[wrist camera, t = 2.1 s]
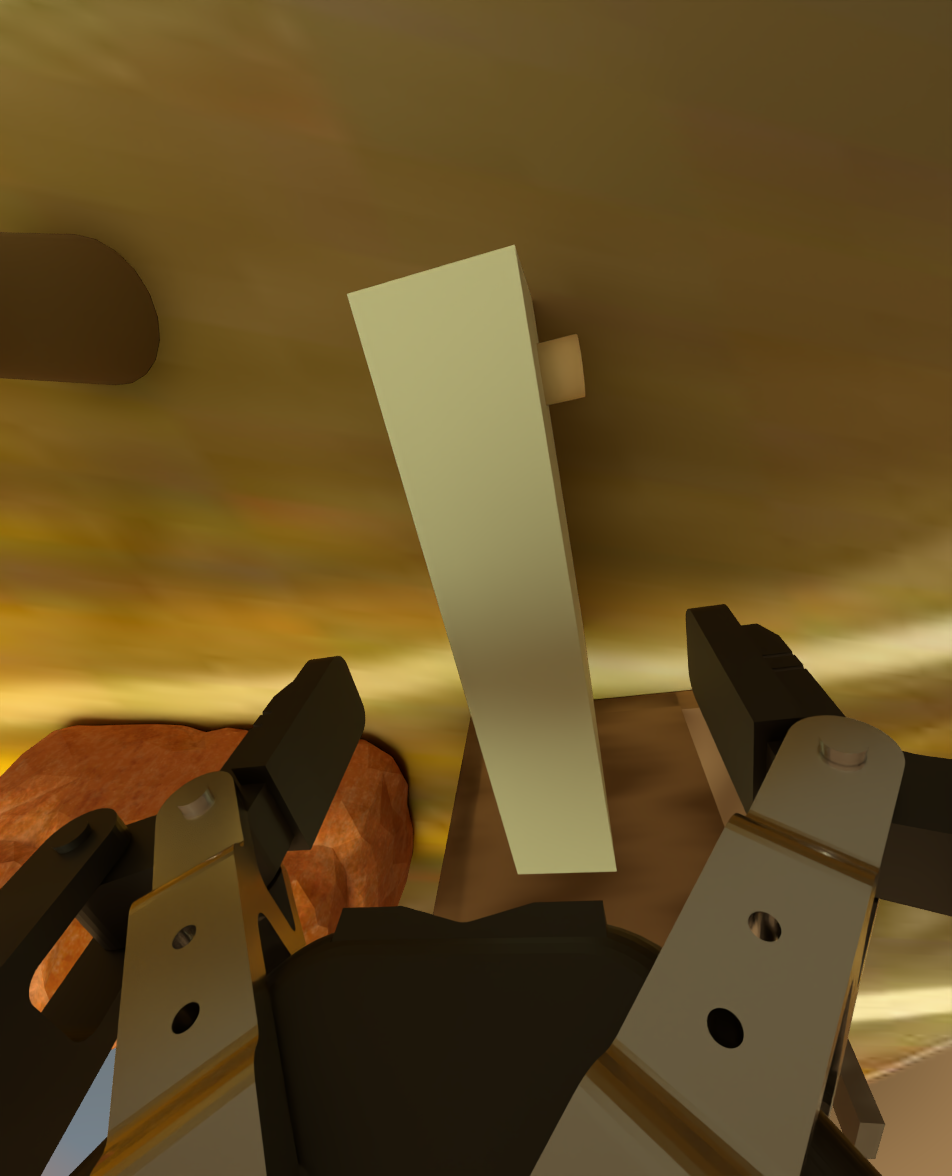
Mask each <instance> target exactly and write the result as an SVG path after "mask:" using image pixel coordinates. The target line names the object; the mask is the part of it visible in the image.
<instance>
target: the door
mask: <svg viewBox="0 0 952 1176" xmlns="http://www.w3.org/2000/svg"><path fill="white" fill-rule="evenodd" d="M347 296H348V299H349V302H350V306H351V309H352V313H353V316H354V319H355V323H356V326H357V330H358V333H359V336H360V340H361V343H362V347H363V350H364V353H365V357H366V360H367V364H368V367H369V370H370V374H371V377H372V381H373V384H374V387H375V391H376V394H377V397H378V401H379V404H380V408H381V411H382V414H383V418H384V421H385V425H386V428H387V431H388V435H389V438H390V442H391V445H392V448H393V452H394V455H395V459H396V462H397V465H398V469H399V472H400V476H401V479H402V482H403V486H404V489H405V493H406V496H407V499H408V503H409V506H410V510H411V513H412V516H413V520H414V523H415V527H416V530H417V533H418V537H419V540H420V544H421V547H422V550H423V554H424V557H425V561H426V564H427V567H428V571H429V574H430V578H431V581H432V584H433V588H434V591H435V595H436V598H437V601H438V605H439V608H440V612H441V615H442V618H443V622H444V625H445V629H446V632H447V635H448V639H449V642H450V645H451V649H452V652H453V656H454V659H455V662H456V666H457V669H458V673H459V676H460V679H461V683H462V686H463V690H464V693H465V696H466V700H467V703H468V707H469V710H470V713H471V717H472V720H473V724H474V727H475V730H476V734H477V737H478V741H479V744H480V747H481V751H482V754H483V758H484V761H485V764H486V768H487V771H488V775H489V778H490V781H491V785H492V788H493V792H494V795H495V798H496V802H497V805H498V809H499V812H500V815H501V819H502V822H503V826H504V829H505V832H506V836H507V839H508V843H509V846H510V849H511V853H512V856H513V860H514V863H515V866H516V870H517V873H518V874H545V873H580V872H614V871H617V869H616V862H615V855H614V847H613V840H612V833H611V825H610V818H609V811H608V804H607V796H606V789H605V782H604V774H603V767H602V760H601V752H600V745H599V738H598V730H597V723H596V716H595V708H594V701H593V694H592V687H591V679H590V672H589V665H588V657H587V650H586V643H585V635H584V628H583V622H582V615H581V609H580V602H579V596H578V590H577V583H576V577H575V571H574V564H573V558H572V551H571V545H570V539H569V532H568V526H567V519H566V513H565V507H564V500H563V494H562V488H561V481H560V475H559V468H558V462H557V456H556V449H555V443H554V436H553V430H552V424H551V417H550V411H549V405H551V404H556V403H560V402H565V401H569V400H574V399H578V398H583V397H585V383H584V373H583V365H582V358H581V351H580V345H579V340H578V335H577V334H573V335H569V336H565V337H561V338H557V339H553V340H549V341H545V342H541V343H539V341H538V334H537V328H536V322H535V315H534V309H533V302H532V297H531V294H530V291H529V288H528V285H527V282H526V279H525V276H524V272H523V269H522V266H521V263H520V260H519V257H518V254H517V251H516V248H515V245H512V246H508V247H505V248H502V249H498V250H495V251H491V252H488V253H485V254H481V255H478V256H474V257H471V258H468V259H464V260H461V261H458V262H454V263H451V264H447V265H444V266H441V267H437V268H434V269H430V270H427V271H424V272H420V273H417V274H413V275H410V276H407V277H403V278H400V279H396V280H393V281H390V282H386V283H383V284H379V285H376V286H373V287H369V288H366V289H362V290H359V291H356V292H352V293H349V294H347Z"/></svg>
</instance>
